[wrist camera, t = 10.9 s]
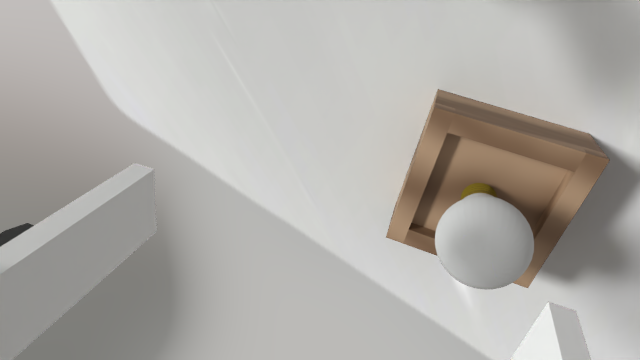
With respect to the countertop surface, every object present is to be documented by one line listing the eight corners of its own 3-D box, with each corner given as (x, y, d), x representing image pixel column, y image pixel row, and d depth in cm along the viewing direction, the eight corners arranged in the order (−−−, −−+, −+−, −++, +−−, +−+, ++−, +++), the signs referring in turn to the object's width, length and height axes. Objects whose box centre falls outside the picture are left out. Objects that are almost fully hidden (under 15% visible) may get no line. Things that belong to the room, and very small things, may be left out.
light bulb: (492, 144, 31) (504, 207, 22) (535, 204, 32) (563, 287, 23) (424, 183, 34) (412, 252, 25) (465, 237, 35) (468, 322, 26)
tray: (437, 89, 34) (434, 107, 30) (589, 133, 32) (609, 160, 28) (394, 207, 40) (386, 237, 36) (520, 251, 38) (527, 288, 34)
